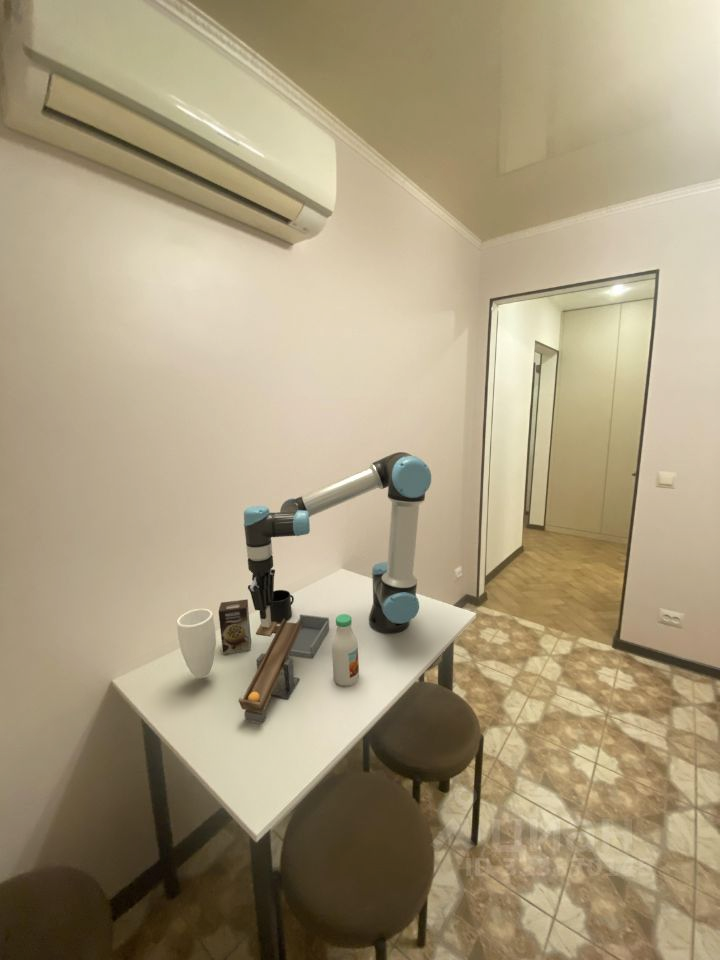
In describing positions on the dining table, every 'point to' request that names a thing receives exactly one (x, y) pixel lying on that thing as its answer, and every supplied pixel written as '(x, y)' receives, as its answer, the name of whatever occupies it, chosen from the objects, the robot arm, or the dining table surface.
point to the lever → (271, 663)
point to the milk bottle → (345, 652)
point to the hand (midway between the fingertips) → (266, 625)
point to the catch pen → (310, 635)
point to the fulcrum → (283, 679)
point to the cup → (197, 640)
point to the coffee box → (235, 626)
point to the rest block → (255, 716)
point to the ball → (254, 697)
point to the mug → (281, 606)
